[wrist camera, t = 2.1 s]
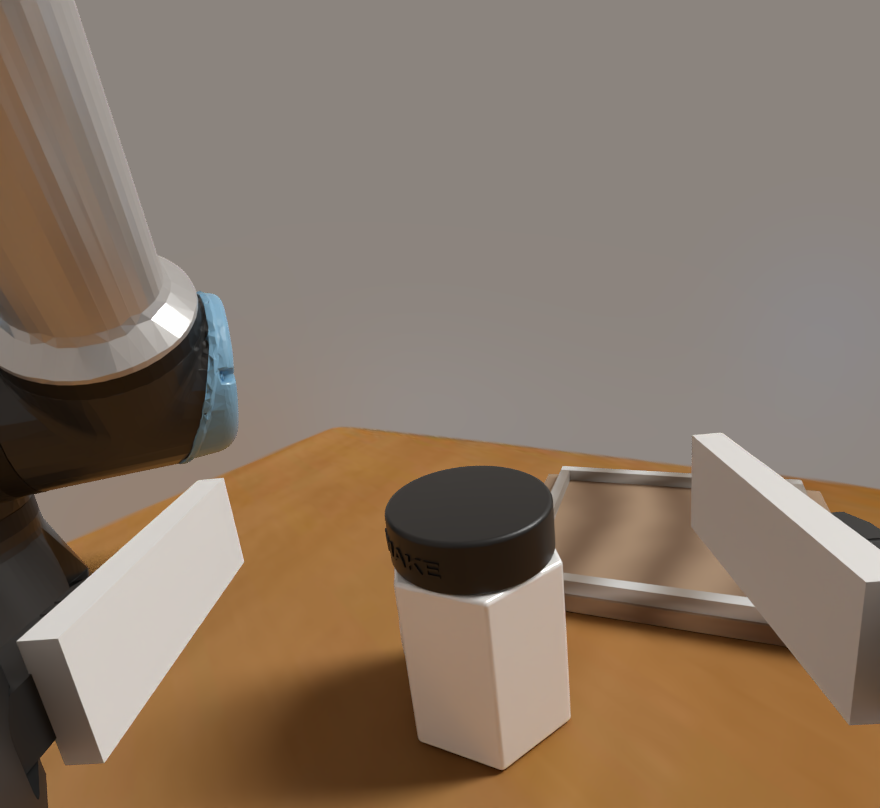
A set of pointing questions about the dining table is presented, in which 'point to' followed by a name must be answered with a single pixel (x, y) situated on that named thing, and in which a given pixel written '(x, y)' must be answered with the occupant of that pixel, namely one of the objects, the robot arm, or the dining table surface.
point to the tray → (646, 554)
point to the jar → (480, 610)
